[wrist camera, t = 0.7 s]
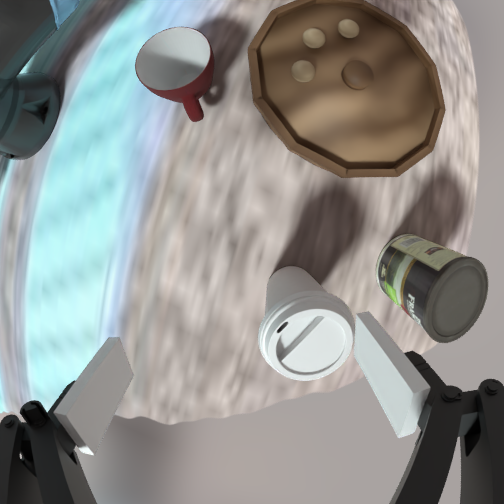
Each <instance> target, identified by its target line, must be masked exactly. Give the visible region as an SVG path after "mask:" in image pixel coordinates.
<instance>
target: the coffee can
mask: <svg viewBox="0 0 504 504" xmlns="http://www.w3.org/2000/svg"><path fill="white" fill-rule="evenodd" d="M376 279H377V283H378V286H379V288H380V289H381V291H382V292H383V293H384V294H385V295H386V296H388V297H389V298H390V299H391V300H393V301H394V302H395V303H396V304H397V305H398V306H399V307H400V308H402V309H403V310H404V311H405V312H406V313H407V314H408V315H409V316H410V317H411V318H413V319H414V320H415V321H416V322H417V323H418V324H419V325H420V326H421V327H422V328H423V329H424V330H425V331H426V332H427V333H428V335H429V336H430V337H431V338H432V339H433V340H435V341H436V342H439V343H448V342H452V341H454V340H457V339H458V338H460V337H461V336H463V335H464V334H465V333H466V332H468V330H469V329H470V328H471V327H472V326H473V325H474V323H475V322H476V321H477V319H478V318H479V316H480V314H481V312H482V310H483V307H484V305H485V301H486V298H487V292H488V276H487V272H486V269H485V267H484V266H483V264H482V263H481V262H480V261H479V260H477V259H475V258H472V257H467V256H465V255H463V254H460V253H458V252H455V251H453V250H451V249H448V248H446V247H443V246H441V245H438V244H436V243H433V242H431V241H428V240H425V239H423V238H420V237H418V236H416V235H413V234H403V235H400V236H398V237H396V238H394V239H393V240H391V241H390V242H389V243H388V244H387V245H386V246H385V248H384V249H383V250H382V252H381V254H380V256H379V259H378V262H377V266H376Z"/></svg>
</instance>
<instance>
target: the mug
mask: <svg viewBox="0 0 504 504" xmlns="http://www.w3.org/2000/svg"><path fill="white" fill-rule="evenodd" d="M135 69H136V74H137V76H138V78H139V80H140V81H141V83H142V84H143V85H144V86H145V87H147V88H148V89H149V90H150V91H151V92H153V93H154V94H156V95H158V96H160V97H163V98H166V99H169V100H172V101H175V102H180V103H183V105H184V108H185V110H186V112H187V114H188V116H189V118H190V120H191V121H193V122H197V121H200V120H202V119H203V117H204V114H203V110H202V108H201V105H200V103H199V100H198V99H199V98H201V97H202V96H203V95H204V94H205V93H206V92H207V90H208V89H209V87H210V85H211V82H212V78H213V71H214V55H213V51H212V48H211V46H210V43H209V41H208V39H207V38H206V37H205V36H204V35H203V34H202V33H201V32H199V31H198V30H195V29H192V28H188V27H174V28H169V29H166V30H163V31H161V32H159V33H157V34H156V35H154V36H153V37H151V38H150V39H149V40H148V41H147V42H146V43H145V44H144V45H143V46H142V48H141V49H140V51H139V53H138V55H137V58H136V63H135Z"/></svg>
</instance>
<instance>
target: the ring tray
mask: <svg viewBox="0 0 504 504" xmlns="http://www.w3.org/2000/svg"><path fill="white" fill-rule="evenodd" d="M345 19H349V20H352V21H354V22H356V23H357V25H358V26H359V34H358V35H357V36H356V37H354V38H346V37H344V36H342V35H341V34H340V33H339V31H338V24H339V22H340V21H342V20H345ZM310 28H316V29H319V30H321V31H322V32H323V33H324V35H325V43H324V45H323V46H321V47H319V48H311V47H308V46H307V45H306V44H305V43H304V42H303V38H302V37H303V33H304V32H305V31H306V30H307V29H310ZM248 59H249V68H250V79H251V85H252V94H253V103H254V105H255V106H256V107H257V109H258V110H259V111H260V113H261V114H262V116H263V118H264V119H265V121H266V122H267V124H268V125H269V127H270V128H271V129H272V131H273V132H274V133H275V134H276V135H277V136H278V138H279V139H280V140H281V141H282V142H283V143H284V144H285V146H286V147H287V149H288V150H290V151H291V152H293V153H295V154H297V155H299V156H300V157H302V158H303V159H305V160H307V161H309V162H310V163H312V164H314V165H316V166H318V167H320V168H323V169H325V170H327V171H330V172H332V173H334V174H336V175H338V176H339V177H341V178H353V177H398V176H400V175H401V174H402V173H404V172H405V171H406V170H408V169H409V168H411V167H412V166H413V165H415V164H416V163H417V162H419V161H420V160H421V159H423V158H424V157H425V156H427V155H428V154H429V153H431V152H432V151H433V149H434V146H435V143H436V140H437V137H438V134H439V131H440V127H441V124H442V121H443V117H444V114H445V104H444V99H443V94H442V89H441V85H440V80H439V76H438V72H437V68H436V65H435V63H434V62H433V60H432V59H431V58H430V56H429V55H428V53H427V52H426V51H425V49H424V48H423V46H422V45H421V44H420V42H419V41H418V40H417V39H416V37H415V36H414V35H413V33H412V32H411V31H410V30H409V28H408V27H407V26H406V25H404V24H403V23H401V22H400V21H398V20H397V19H395V18H394V17H392V16H390V15H389V14H387V13H385V12H384V11H382V10H380V9H379V8H377V7H375V6H373V5H371V4H370V3H368V2H366V1H364V0H296V1H293V2H291V3H288V4H286V5H283V6H281V7H278V8H276V9H274V10H272V11H271V12H270V14H269V15H268V17H267V18H266V20H265V21H264V23H263V25H262V26H261V28H260V29H259V31H258V32H257V34H256V36H255V37H254V39H253V41H252V42H251V44H250V46H249V47H248ZM301 60H304V61H308V62H310V63H311V64H312V65H313V66H314V68H315V76H314V78H313V79H312V80H311V81H309V82H299V81H297V80H296V79H295V78H294V77H293V76H292V73H291V68H292V66H293V64H294V63H296V62H297V61H301Z"/></svg>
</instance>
